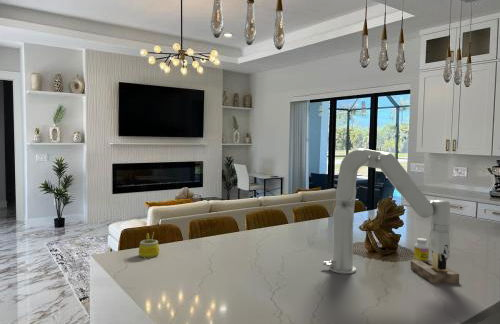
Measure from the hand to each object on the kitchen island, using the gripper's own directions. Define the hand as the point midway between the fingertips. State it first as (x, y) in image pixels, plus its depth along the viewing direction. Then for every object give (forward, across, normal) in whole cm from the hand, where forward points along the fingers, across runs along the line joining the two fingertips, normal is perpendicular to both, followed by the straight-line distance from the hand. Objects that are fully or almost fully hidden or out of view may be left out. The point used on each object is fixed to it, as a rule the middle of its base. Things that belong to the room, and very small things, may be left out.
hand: (439, 267), depth 172 cm
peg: (+3, 0, 0) cm, 3 cm away
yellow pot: (+5, -44, -138) cm, 145 cm away
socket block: (+5, -4, 0) cm, 7 cm away
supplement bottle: (+6, -22, +3) cm, 22 cm away
